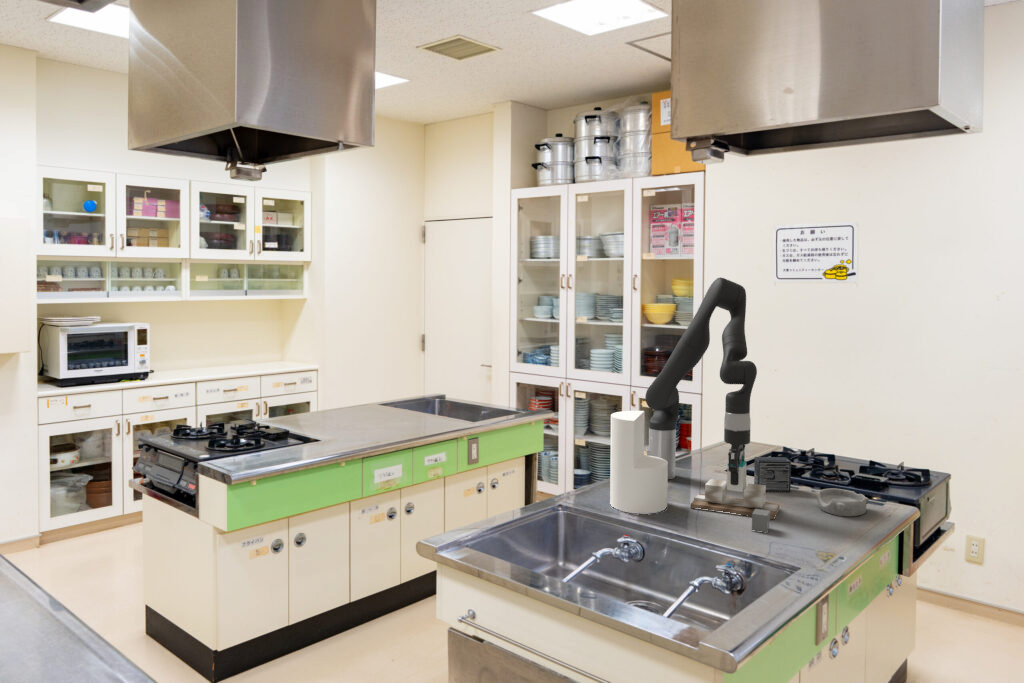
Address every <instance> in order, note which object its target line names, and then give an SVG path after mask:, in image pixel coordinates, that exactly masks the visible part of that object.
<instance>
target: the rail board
mask: <svg viewBox="0 0 1024 683" xmlns="http://www.w3.org/2000/svg"><path fill="white" fill-rule="evenodd" d="M727 492H728V490H727V480H724V479H713V478H710V479H709V480H708V481H706V483H705V484H704V493H699V494H696V495H694V497H693V500H692V502H691V503H690V509H691V508H701V509H708V510H714V511H723V512H730V513H736V514H741V515H748V516H752V513H753V512H754V510H755V509H761V510H768V511H770V519H774V520H775V518H776V516H777V514H778V512H779V510H780V505H781V504H780V503H776V502H769V501H766V497H767V496H766V493H767V492H766V485H758V484H754V483H748V484H746V488H745V489H744V491H743V493H744V494H743V496H744V497H743V498H738V497H737V498H736V497H730V496H729V497H728V496H727V495H728V494H727ZM775 515H776V516H775ZM748 516H747V517H748ZM774 517H775V518H774Z"/></svg>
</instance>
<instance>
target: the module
mask: <svg viewBox="0 0 1024 683" xmlns="http://www.w3.org/2000/svg"><path fill="white" fill-rule="evenodd" d="M726 468H727V470H726V472H727V473H726V477H727V479H726V481H727V491H733V492H741V493H744V489H745V488H746V486H747V460H744V461H742V462H741V465H739V480H738V485H731V483H730V482H731V472H729V470H728V469H729V462H727V466H726ZM732 468H735V465H732Z"/></svg>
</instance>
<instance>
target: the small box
mask: <svg viewBox="0 0 1024 683" xmlns="http://www.w3.org/2000/svg"><path fill="white" fill-rule="evenodd" d="M753 466H754V476H753V477H754V479H753V480H754V481H753V482H754V483H753V484H758V485H766V493H783V492H786V493H789V494H790V493H791V492H792V490H791V486H792V482H791V480H792V477H791V476H792V474H791V473H792V461H791V459H789V458H787V457H786V456H784V457H783V456H782V457H780V456H776V457H775V456H770V457H769V456H754V464H753Z"/></svg>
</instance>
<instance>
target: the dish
mask: <svg viewBox="0 0 1024 683" xmlns="http://www.w3.org/2000/svg"><path fill="white" fill-rule="evenodd" d="M817 502H818V507H819V508H820V510H822V511H823V512H825V513H828V514H831V515H834V516H838V517H858V516H862V515H864V514H865V513H866V511H867V505H868V504H869V498H868V497H866V496H865V495H864V494H862V493H857V492H856V491H853V490H849V489H843V488H842V489H841V488H834V487H833V488H832V487H831V488H823V489H821V490H819V491H818V492H817Z"/></svg>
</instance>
